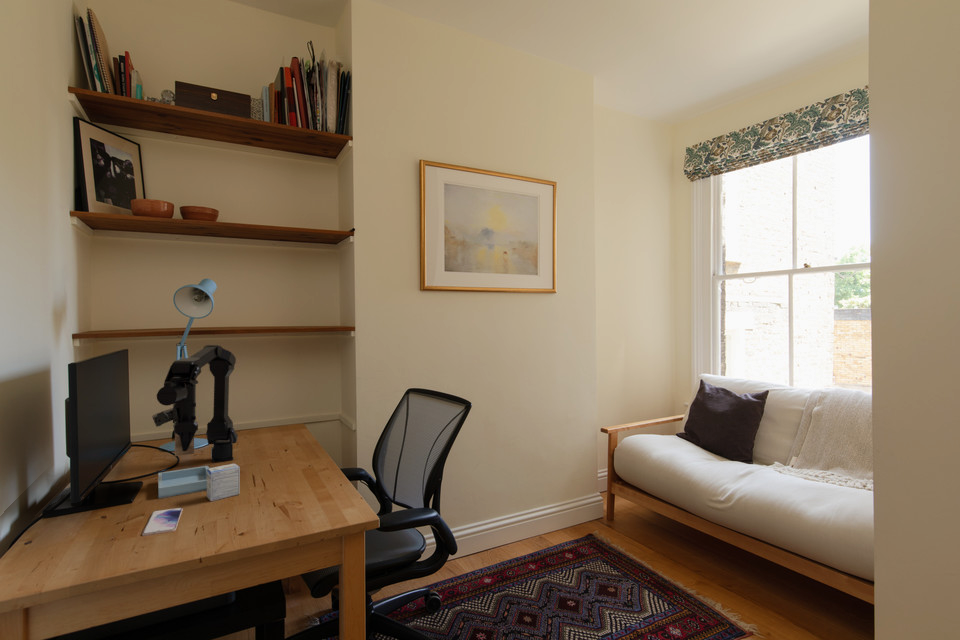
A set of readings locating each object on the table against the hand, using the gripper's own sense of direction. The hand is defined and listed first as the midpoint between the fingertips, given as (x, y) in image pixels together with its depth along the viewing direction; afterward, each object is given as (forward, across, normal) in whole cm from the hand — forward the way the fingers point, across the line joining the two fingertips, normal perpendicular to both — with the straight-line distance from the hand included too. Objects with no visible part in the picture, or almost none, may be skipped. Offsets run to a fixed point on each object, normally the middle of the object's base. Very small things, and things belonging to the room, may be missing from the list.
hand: (184, 449), depth 151 cm
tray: (+11, +1, 0) cm, 11 cm away
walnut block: (+1, 0, 0) cm, 1 cm away
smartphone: (+12, +28, -6) cm, 31 cm away
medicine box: (+12, +17, +9) cm, 23 cm away
